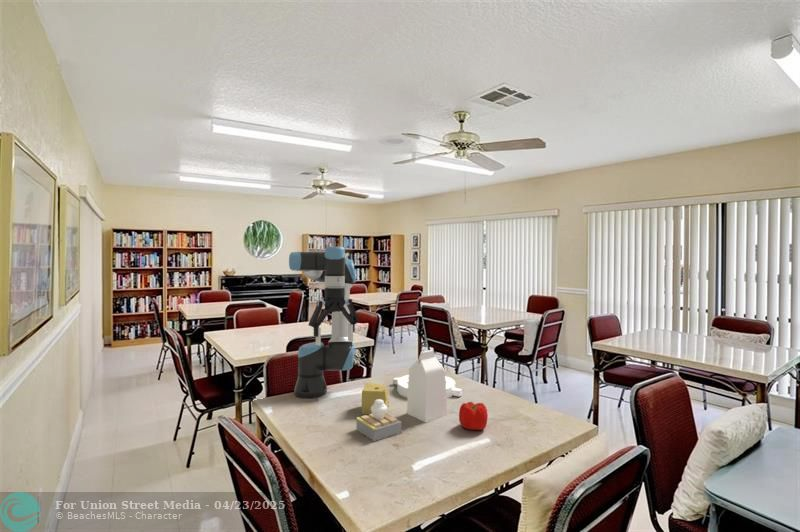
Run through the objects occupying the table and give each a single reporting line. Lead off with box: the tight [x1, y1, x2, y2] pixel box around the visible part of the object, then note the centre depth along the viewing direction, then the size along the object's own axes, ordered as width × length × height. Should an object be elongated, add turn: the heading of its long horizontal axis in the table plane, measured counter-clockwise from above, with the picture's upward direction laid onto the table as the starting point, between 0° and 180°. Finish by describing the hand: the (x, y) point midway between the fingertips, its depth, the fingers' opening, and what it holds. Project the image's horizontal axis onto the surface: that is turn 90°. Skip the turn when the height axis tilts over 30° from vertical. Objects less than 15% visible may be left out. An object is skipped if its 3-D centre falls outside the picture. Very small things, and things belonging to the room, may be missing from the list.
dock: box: [356, 412, 402, 442], centre depth 148 cm, size 12×12×5 cm
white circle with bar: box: [392, 374, 463, 399], centre depth 194 cm, size 28×28×5 cm
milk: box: [406, 349, 448, 423], centre depth 164 cm, size 12×12×26 cm
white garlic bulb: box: [371, 399, 388, 419], centre depth 148 cm, size 6×6×7 cm
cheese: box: [361, 382, 390, 415], centre depth 168 cm, size 10×11×10 cm
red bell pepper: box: [458, 401, 489, 431], centre depth 152 cm, size 11×12×9 cm
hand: (334, 343), depth 152 cm, fingers open, 13 cm apart
